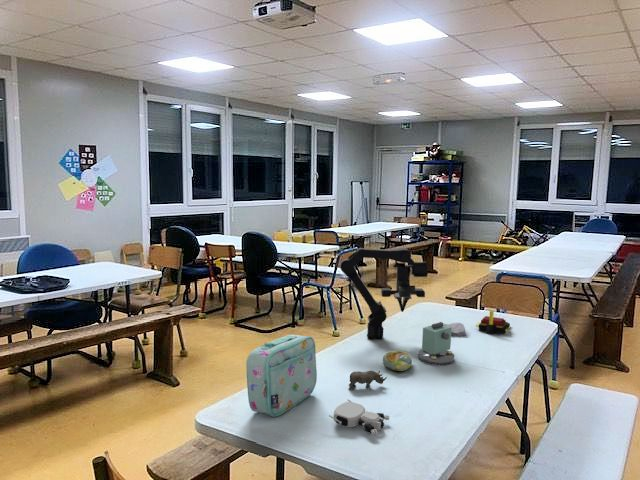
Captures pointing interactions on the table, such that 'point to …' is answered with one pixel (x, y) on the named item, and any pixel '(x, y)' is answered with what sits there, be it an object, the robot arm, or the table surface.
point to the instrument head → (436, 338)
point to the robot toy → (358, 417)
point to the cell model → (397, 360)
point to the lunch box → (281, 374)
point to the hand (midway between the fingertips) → (402, 311)
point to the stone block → (457, 329)
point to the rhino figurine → (365, 378)
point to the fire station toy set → (493, 325)
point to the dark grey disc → (436, 357)
